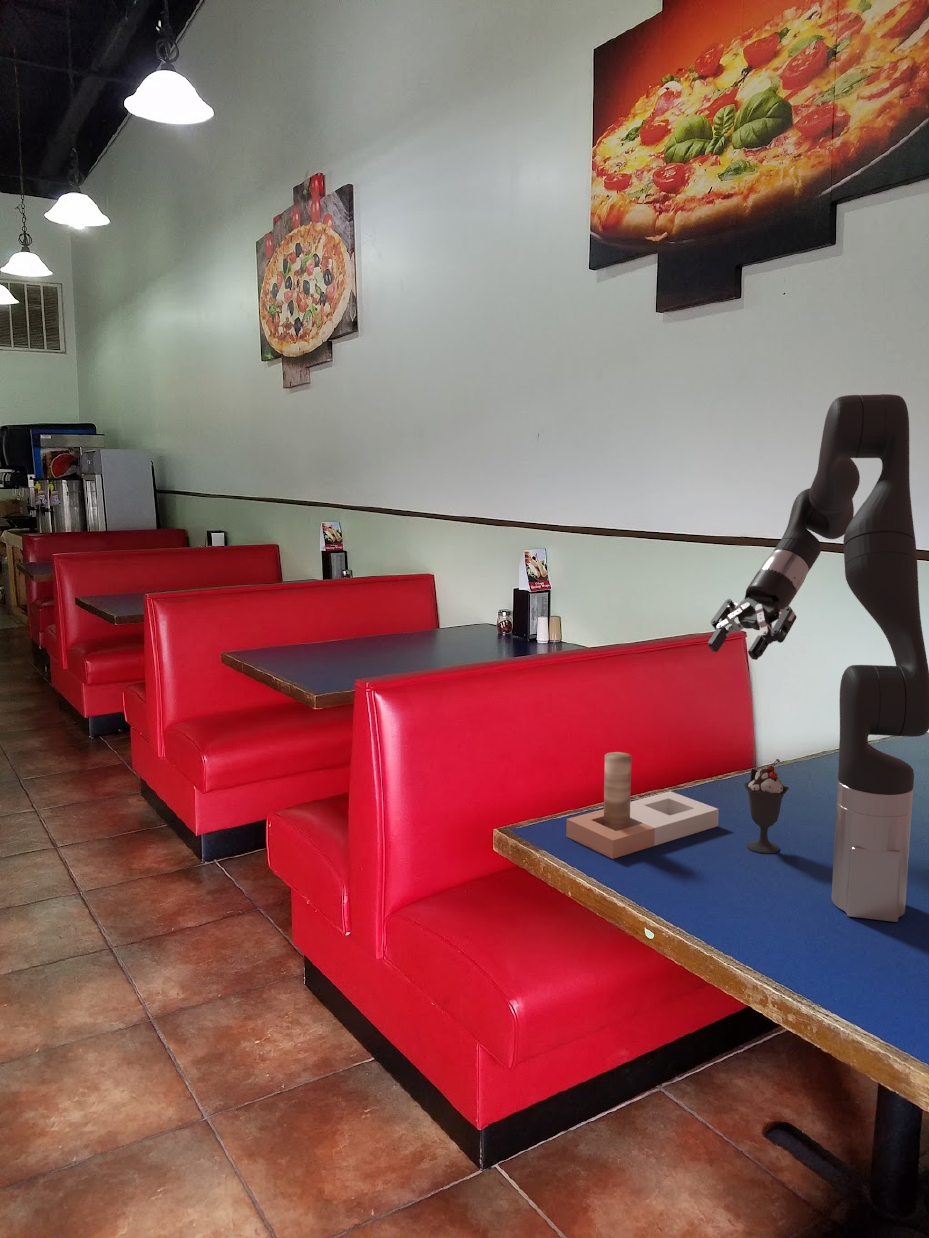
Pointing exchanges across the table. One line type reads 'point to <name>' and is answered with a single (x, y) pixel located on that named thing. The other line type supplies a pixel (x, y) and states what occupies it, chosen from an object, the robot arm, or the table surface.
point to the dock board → (644, 824)
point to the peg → (617, 790)
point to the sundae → (765, 805)
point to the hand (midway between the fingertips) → (731, 652)
